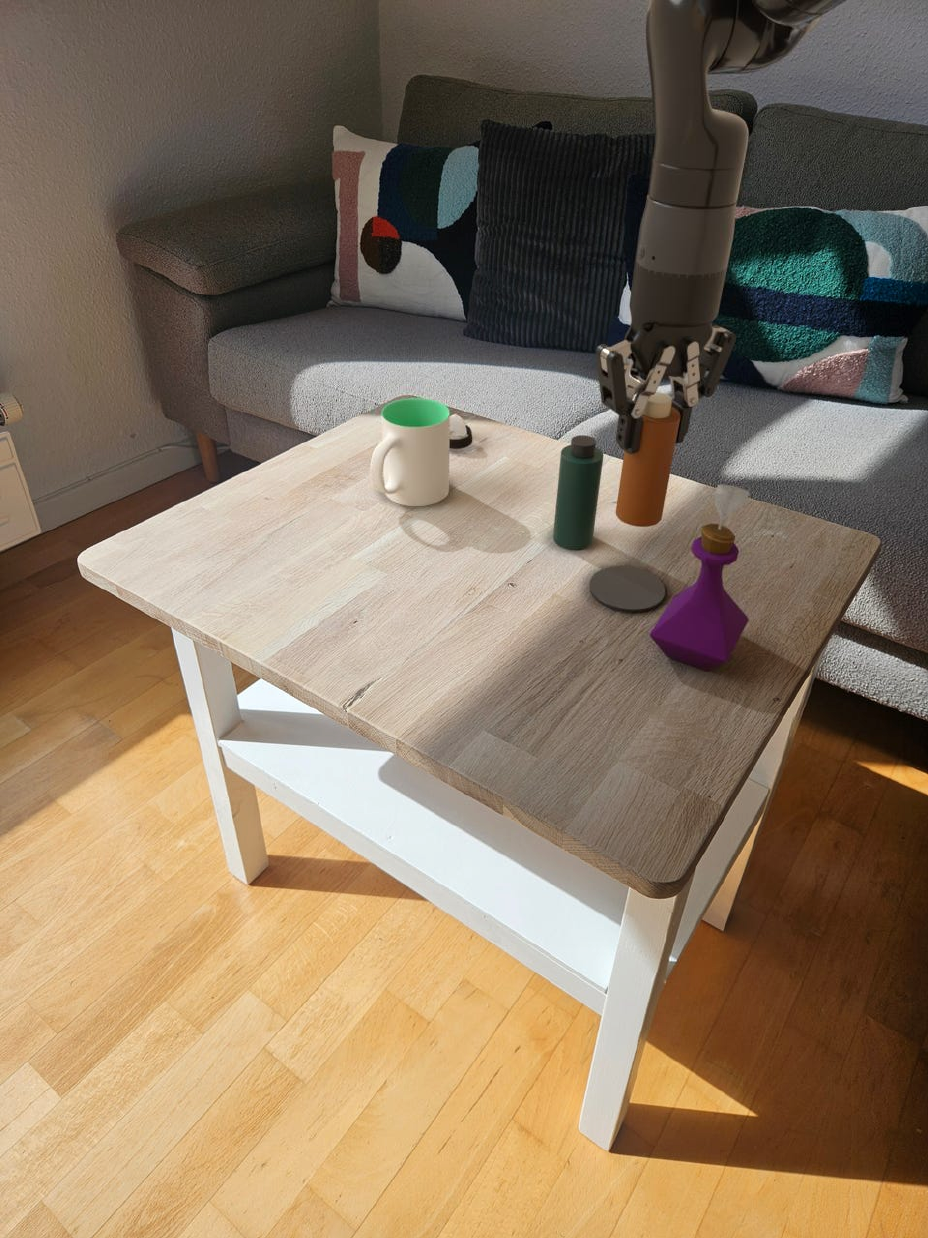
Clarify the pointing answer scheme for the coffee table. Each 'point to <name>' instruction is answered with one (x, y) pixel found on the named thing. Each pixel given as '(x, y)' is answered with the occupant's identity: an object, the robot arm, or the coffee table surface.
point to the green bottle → (577, 493)
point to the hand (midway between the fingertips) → (650, 444)
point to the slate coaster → (627, 589)
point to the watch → (460, 433)
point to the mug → (413, 452)
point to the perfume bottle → (706, 597)
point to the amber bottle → (649, 465)
